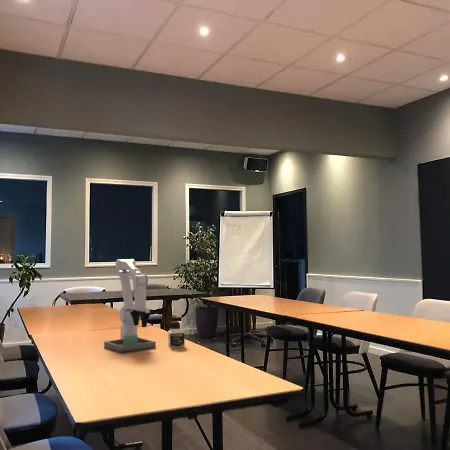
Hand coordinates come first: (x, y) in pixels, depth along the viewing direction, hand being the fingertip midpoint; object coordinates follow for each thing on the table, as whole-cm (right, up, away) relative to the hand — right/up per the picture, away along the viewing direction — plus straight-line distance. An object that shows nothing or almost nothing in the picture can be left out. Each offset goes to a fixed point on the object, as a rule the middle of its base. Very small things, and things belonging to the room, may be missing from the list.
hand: (140, 326), depth 231 cm
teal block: (-4, -8, -6) cm, 11 cm away
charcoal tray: (-4, -9, -7) cm, 12 cm away
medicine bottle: (+18, -9, -3) cm, 21 cm away
